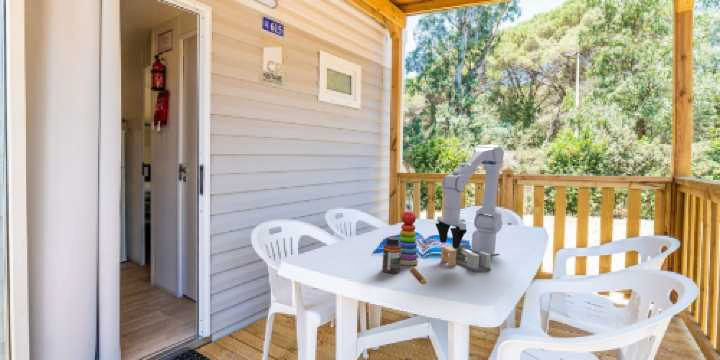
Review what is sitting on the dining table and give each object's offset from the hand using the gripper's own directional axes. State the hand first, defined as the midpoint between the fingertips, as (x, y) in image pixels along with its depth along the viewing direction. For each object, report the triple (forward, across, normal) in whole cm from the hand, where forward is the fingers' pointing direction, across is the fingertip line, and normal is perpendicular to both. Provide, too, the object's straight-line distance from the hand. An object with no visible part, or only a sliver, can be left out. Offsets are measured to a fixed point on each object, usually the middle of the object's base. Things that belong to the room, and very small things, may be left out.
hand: (449, 245), depth 142 cm
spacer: (+7, 0, 0) cm, 7 cm away
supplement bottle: (+7, +3, -25) cm, 26 cm away
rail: (+7, +2, +7) cm, 10 cm away
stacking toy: (+7, -4, -15) cm, 17 cm away
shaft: (+5, +2, +7) cm, 9 cm away
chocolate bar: (+8, +10, -19) cm, 23 cm away
